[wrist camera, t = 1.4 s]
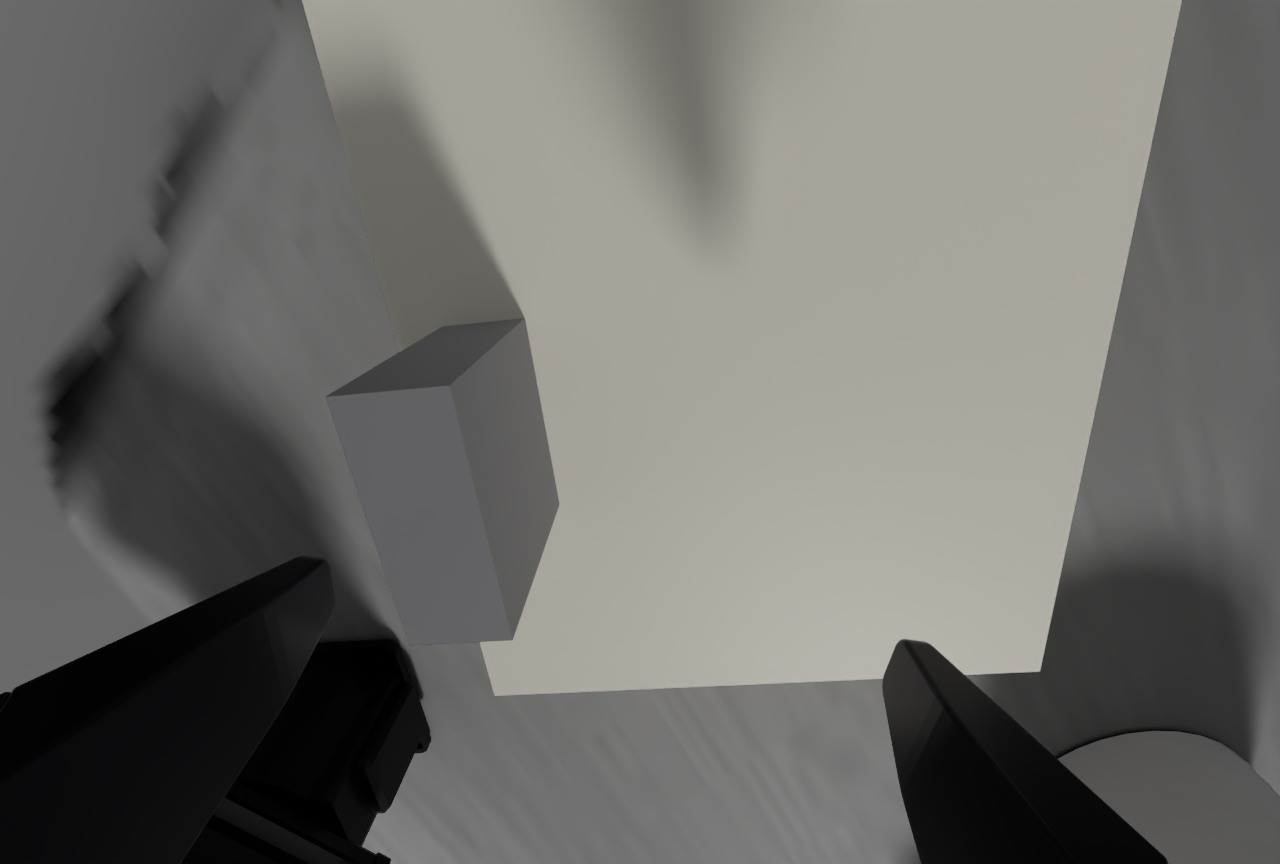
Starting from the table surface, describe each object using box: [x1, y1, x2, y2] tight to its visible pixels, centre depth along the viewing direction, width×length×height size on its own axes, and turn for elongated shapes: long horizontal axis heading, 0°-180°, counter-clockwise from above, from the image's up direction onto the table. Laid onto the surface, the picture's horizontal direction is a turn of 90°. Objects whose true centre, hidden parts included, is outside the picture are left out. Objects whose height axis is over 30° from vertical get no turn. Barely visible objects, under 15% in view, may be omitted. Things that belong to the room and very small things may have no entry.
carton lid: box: [302, 0, 1182, 696], centre depth 12 cm, size 16×18×6 cm
